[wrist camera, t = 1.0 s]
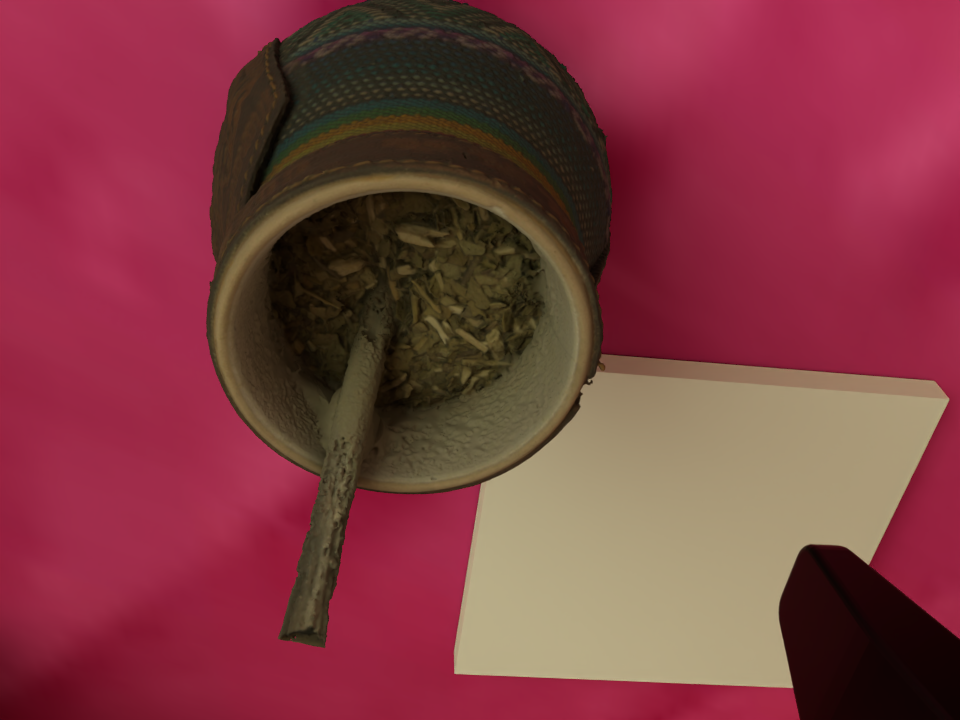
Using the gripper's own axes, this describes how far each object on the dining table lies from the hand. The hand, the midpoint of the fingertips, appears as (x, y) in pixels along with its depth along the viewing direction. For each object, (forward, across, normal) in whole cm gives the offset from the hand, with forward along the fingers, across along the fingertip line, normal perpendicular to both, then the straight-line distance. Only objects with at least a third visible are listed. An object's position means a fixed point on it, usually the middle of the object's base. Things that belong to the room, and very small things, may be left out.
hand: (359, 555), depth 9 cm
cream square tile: (+12, -8, +10) cm, 18 cm away
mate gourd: (+12, 0, 0) cm, 12 cm away
